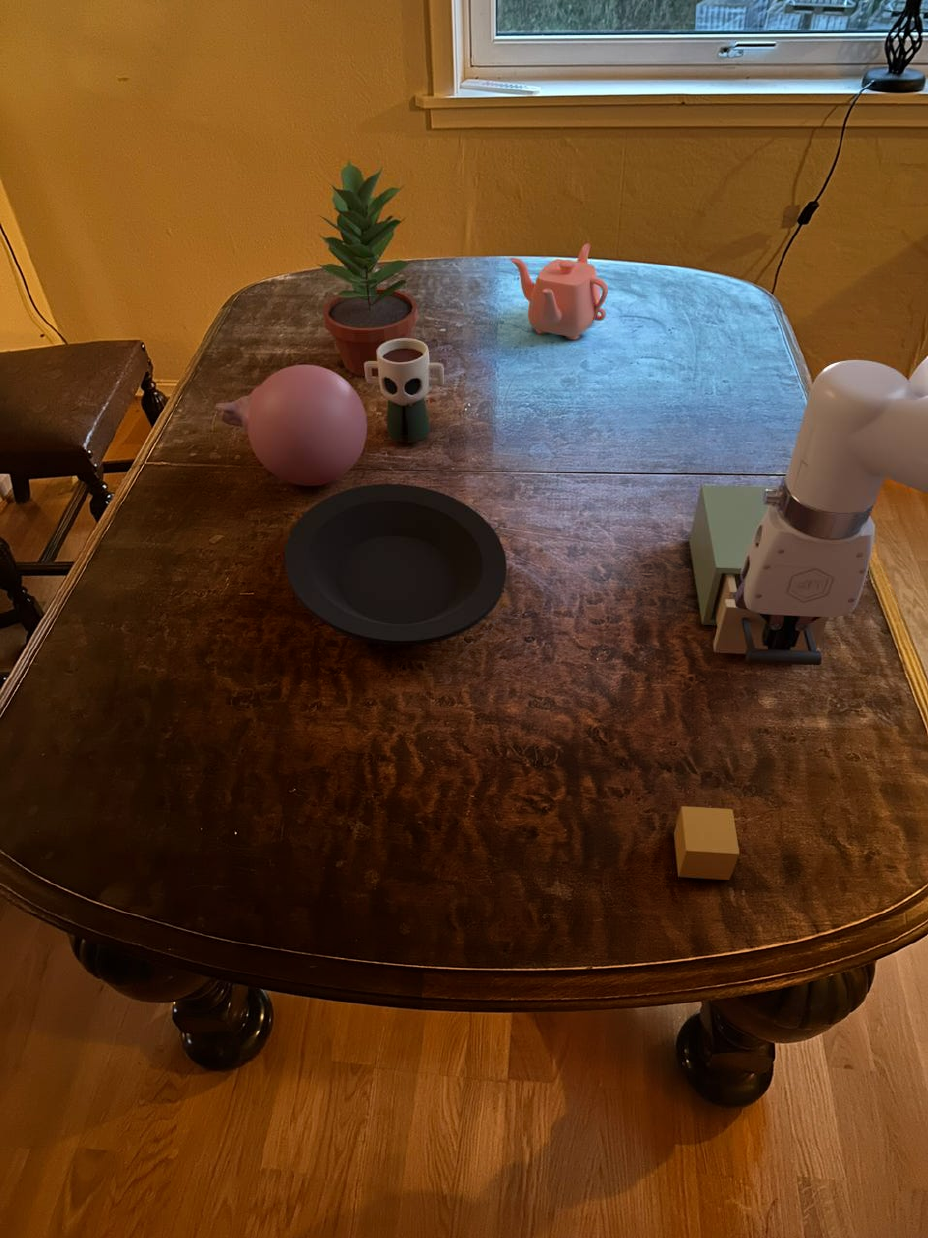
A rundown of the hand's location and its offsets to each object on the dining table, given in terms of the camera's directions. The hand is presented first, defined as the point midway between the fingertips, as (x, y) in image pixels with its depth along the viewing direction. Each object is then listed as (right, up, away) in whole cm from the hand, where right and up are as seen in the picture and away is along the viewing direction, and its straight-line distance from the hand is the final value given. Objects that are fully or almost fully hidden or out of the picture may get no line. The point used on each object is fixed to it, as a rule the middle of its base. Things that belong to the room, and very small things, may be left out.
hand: (775, 648), depth 89 cm
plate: (-39, +6, +14) cm, 42 cm away
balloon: (-54, +23, +32) cm, 67 cm away
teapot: (-16, +53, +60) cm, 81 cm away
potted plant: (-46, +44, +53) cm, 83 cm away
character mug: (-40, +30, +38) cm, 62 cm away
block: (-11, -18, -11) cm, 24 cm away
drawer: (+1, +2, +7) cm, 8 cm away
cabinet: (+1, +7, +14) cm, 16 cm away
